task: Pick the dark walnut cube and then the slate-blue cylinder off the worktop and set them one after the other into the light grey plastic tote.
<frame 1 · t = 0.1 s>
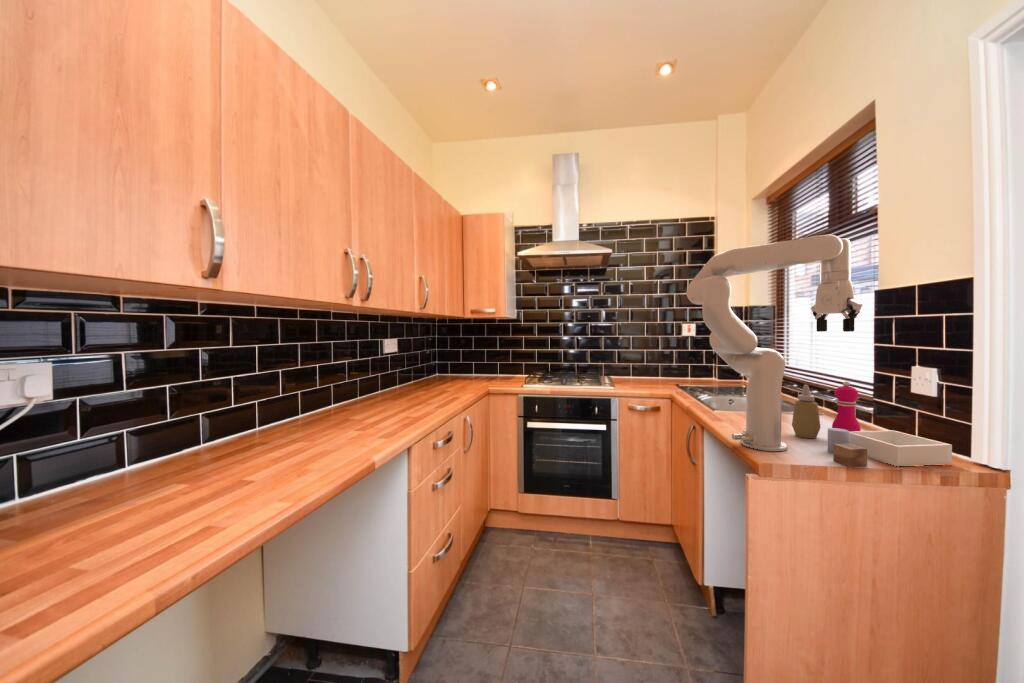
hand: (834, 331, 126), 37 cm above the counter, tool pointing down, fingers open, 9 cm apart
slate cylinder: (838, 453, 118), on the counter
tote: (895, 456, 113), on the counter
walnut cube: (849, 464, 108), on the counter
squeeze bottle: (805, 436, 136), on the counter
pepper mill: (845, 441, 129), on the counter
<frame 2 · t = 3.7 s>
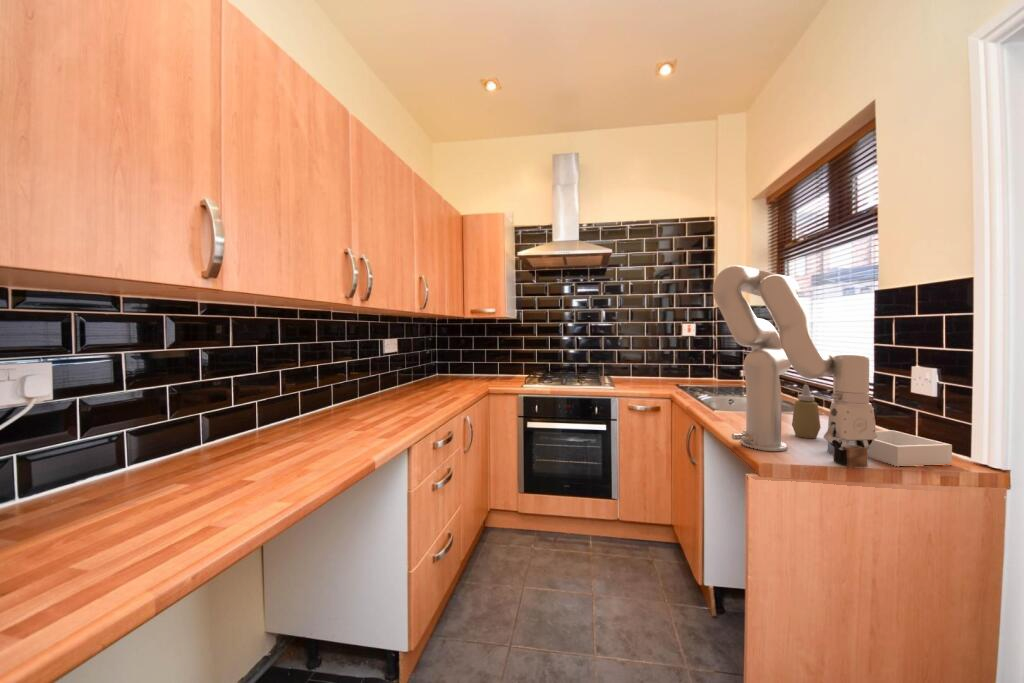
hand: (850, 462, 108), 0 cm above the counter, tool pointing down, fingers closed on walnut cube, 5 cm apart
walnut cube: (850, 463, 108), on the counter, touching gripper
everything else where it was.
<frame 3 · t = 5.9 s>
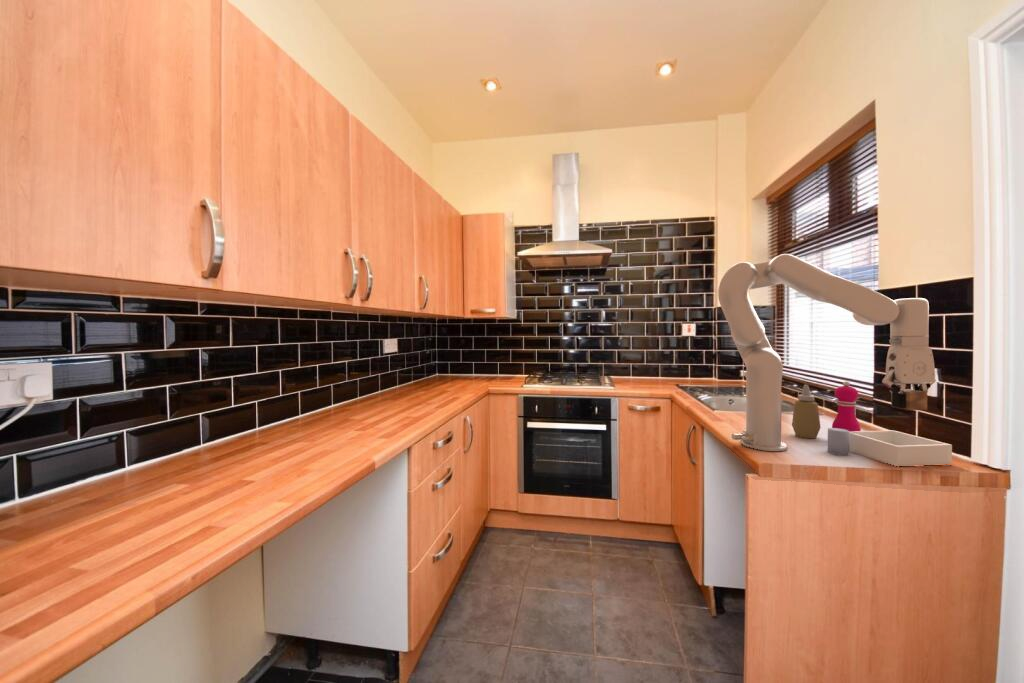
hand: (908, 406, 109), 15 cm above the counter, tool pointing down, fingers closed on walnut cube, 5 cm apart
walnut cube: (908, 408, 109), point 15 cm above the counter, touching gripper
everything else where it was.
when the fingers open (3 cm above the counter, at t = 8.6 s): walnut cube drops 1 cm, resting on tote.
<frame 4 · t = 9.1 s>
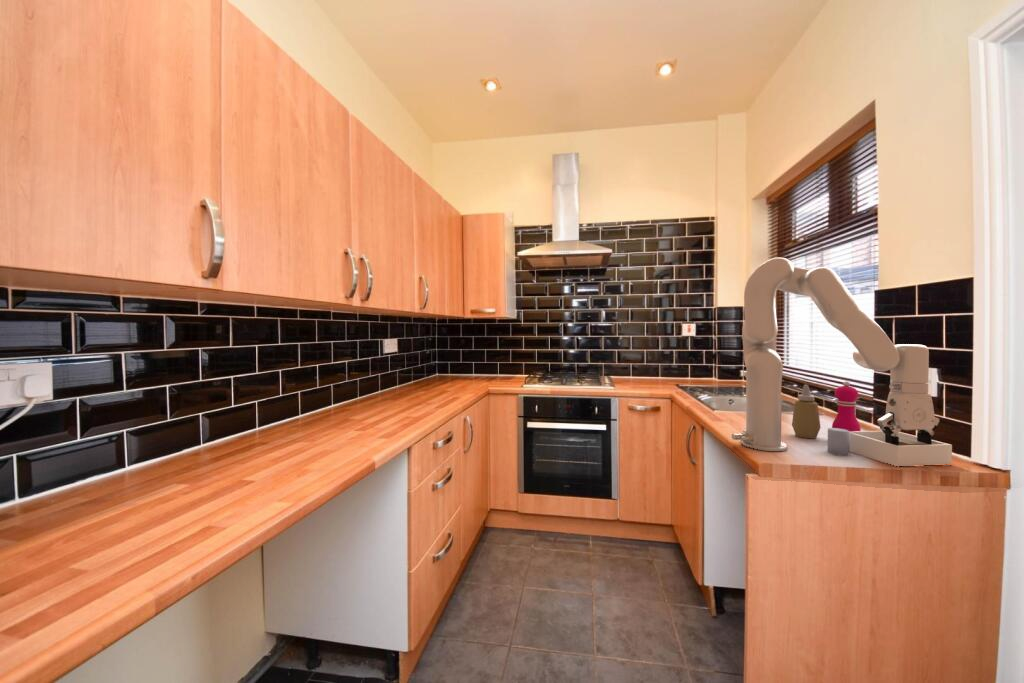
hand: (908, 448, 110), 3 cm above the counter, tool pointing down, fingers open, 9 cm apart
walnut cube: (908, 458, 110), point 1 cm above the counter, touching tote
everything else where it was.
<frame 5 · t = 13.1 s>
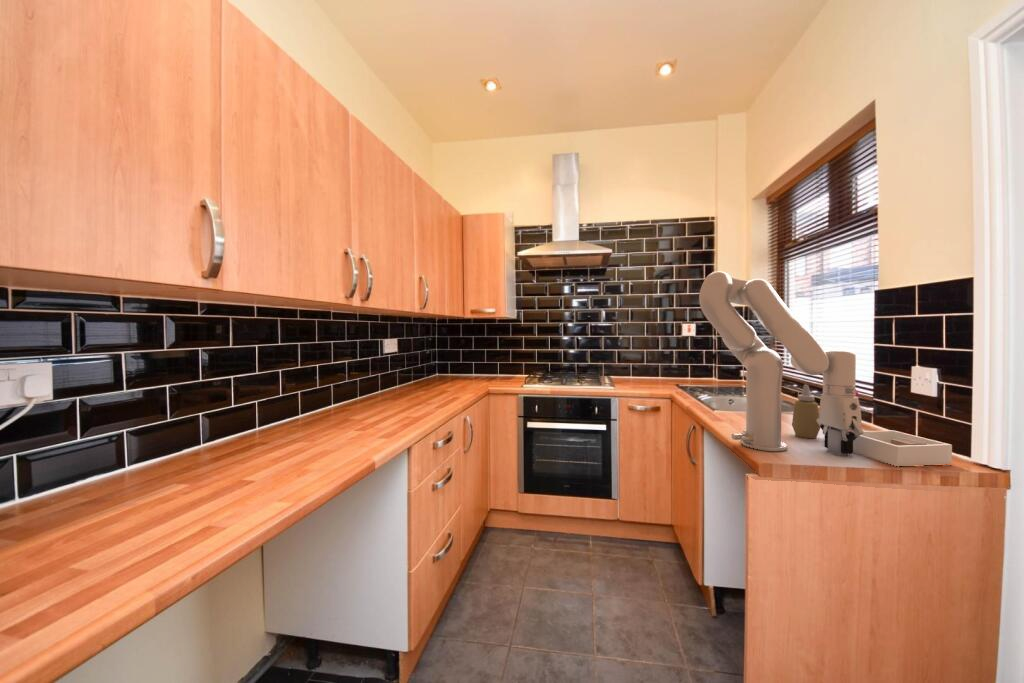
hand: (838, 449, 118), 1 cm above the counter, tool pointing down, fingers closed on slate cylinder, 5 cm apart
slate cylinder: (838, 453, 118), on the counter, touching gripper
everything else where it was.
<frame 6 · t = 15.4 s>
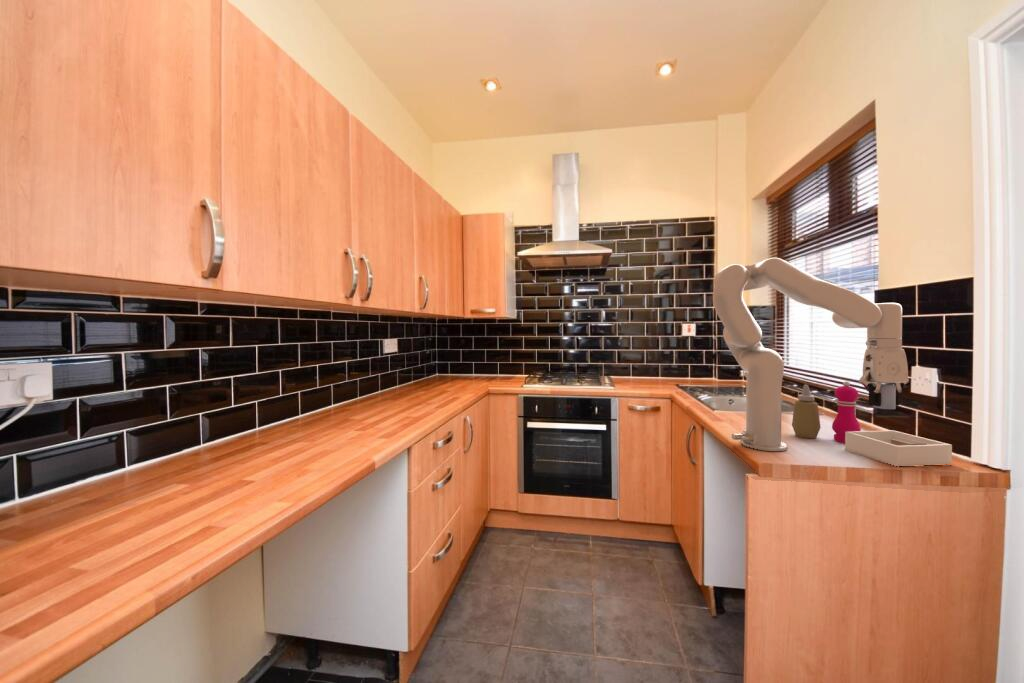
hand: (883, 404, 116), 15 cm above the counter, tool pointing down, fingers closed on slate cylinder, 5 cm apart
slate cylinder: (883, 407, 116), point 14 cm above the counter, touching gripper
everything else where it was.
when the fingers open (3 cm above the counter, at t = 17.8 s): slate cylinder drops 1 cm, resting on tote.
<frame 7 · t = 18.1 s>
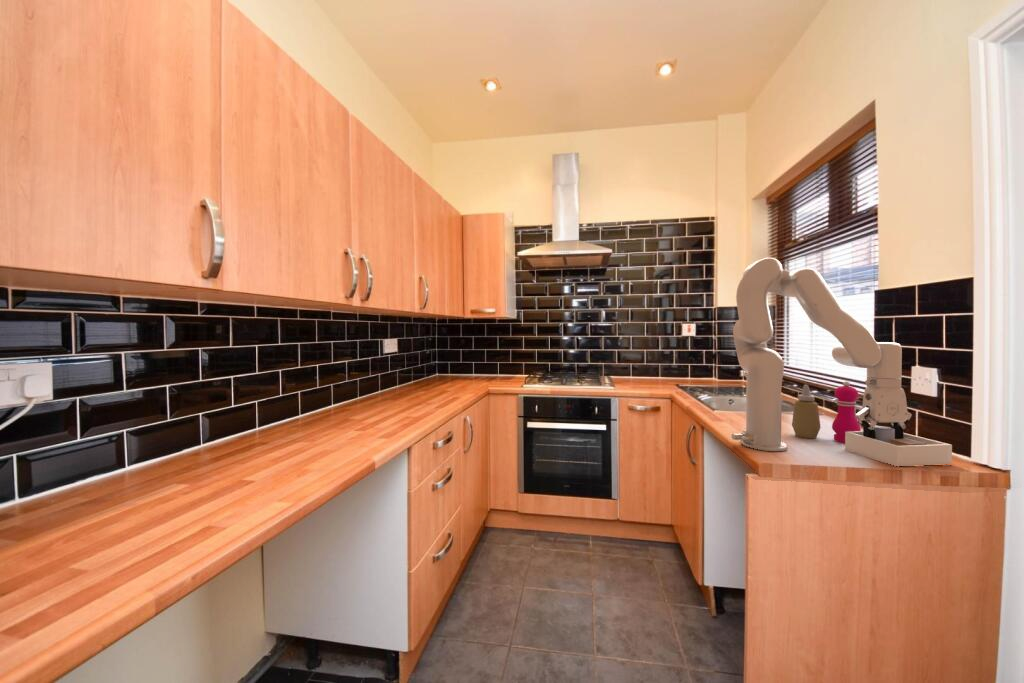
hand: (883, 441, 117), 4 cm above the counter, tool pointing down, fingers open, 8 cm apart
slate cylinder: (882, 451, 117), point 1 cm above the counter, touching tote
everything else where it was.
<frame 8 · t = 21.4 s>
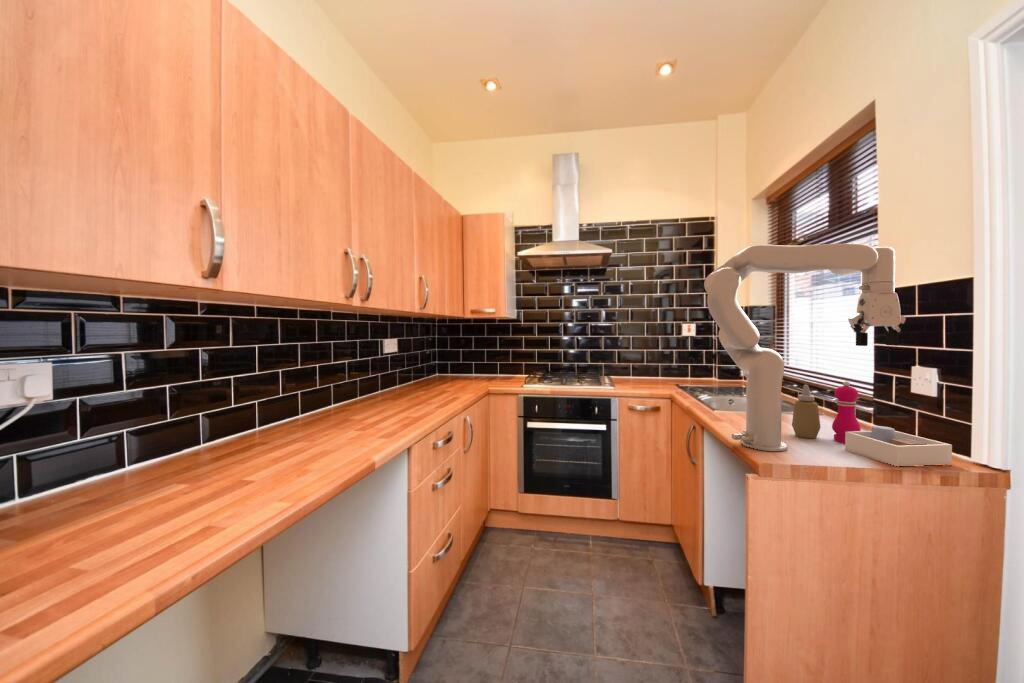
hand: (876, 345, 119), 32 cm above the counter, tool pointing down, fingers open, 9 cm apart
nothing on the counter moved.
at the end: walnut cube inside the target area on the tote (3.6 cm from its centre), point 0.6 cm above the tote's base; slate cylinder inside the target area on the tote (3.5 cm from its centre), point 0.6 cm above the tote's base; the gripper is holding nothing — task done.
